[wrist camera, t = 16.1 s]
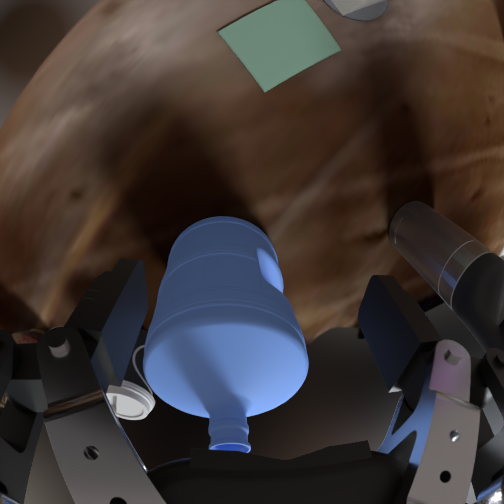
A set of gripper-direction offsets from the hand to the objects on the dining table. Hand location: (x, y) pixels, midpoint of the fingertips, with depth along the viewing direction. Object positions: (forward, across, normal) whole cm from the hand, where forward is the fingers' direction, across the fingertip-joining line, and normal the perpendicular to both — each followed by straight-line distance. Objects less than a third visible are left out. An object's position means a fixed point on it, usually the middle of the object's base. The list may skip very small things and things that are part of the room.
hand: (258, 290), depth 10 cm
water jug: (+29, +2, +16) cm, 33 cm away
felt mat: (+29, -3, -16) cm, 33 cm away
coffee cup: (+28, +17, +33) cm, 47 cm away
